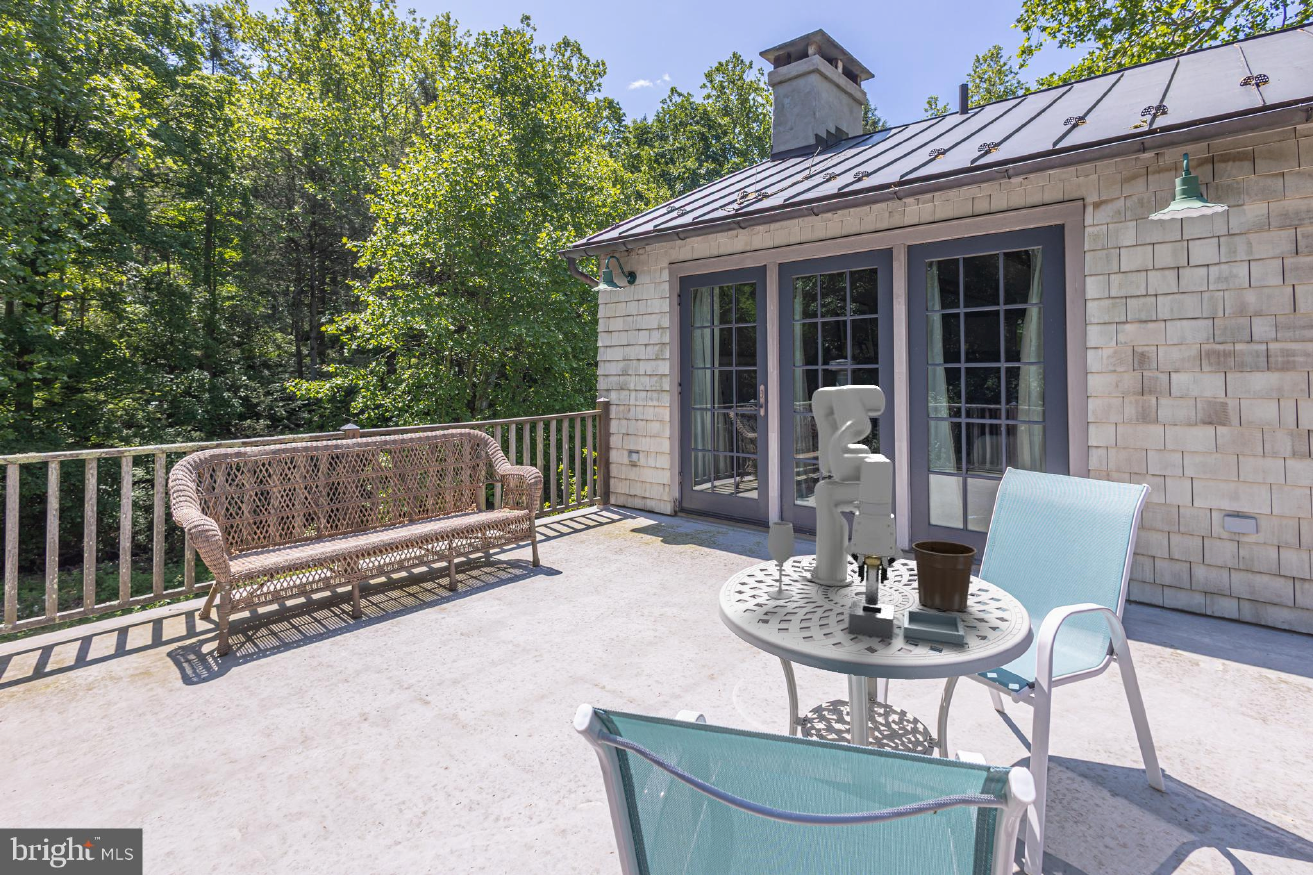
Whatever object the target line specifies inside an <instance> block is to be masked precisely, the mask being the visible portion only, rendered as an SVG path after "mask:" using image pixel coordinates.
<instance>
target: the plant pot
mask: <svg viewBox="0 0 1313 875" xmlns="http://www.w3.org/2000/svg"><path fill="white" fill-rule="evenodd" d="M911 546H912V549H913V551H914V553H913V554H914V560H915V562H916V563H915V566H916V575H917V576H916V578H917V592H918V601H919V603H920V604H921V605H923V606H924V605H925V606H924V607H927V608H930V609H935V610H936V609H941V610H942V611H952V612H955V611H962V610H964V609H966V608H967V605H968V597H969V590H970V583H971V574H972V567H973V566H974V564H975V562H974V561H975V556H976V554H977V552H978V550H977V548H975V547H973V546H970V545H967V544H965V543H959V542H953V541H945V540H922V541H916V542H913V543H912V544H911Z"/></svg>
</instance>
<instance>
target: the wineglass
mask: <svg viewBox="0 0 1313 875" xmlns="http://www.w3.org/2000/svg"><path fill="white" fill-rule="evenodd" d="M793 528H794V527H793V524H792V523H791V522H788V521H781V520H780V521H772V522H771V523H770V526H769V532H768V537H767V551H768V554H769V556H770V557H771V558H772V559H773V561H775V562H776V563H778V566H779V570H778V574H779V575H778V576H779V577H778V589H777V590H776V589H775V590H770V591H768V592H767V596H768V597H769V598H772V599H775V600H776V599H777V600H789V599H792V598H793V597H794V596H793V593H792V592H789V591H786V590H783V587H782V584H783V583H782V582H783V581H782V579H783V578H782V576H783V565H784V564H785V563H786V562H787V561H789V560H790V559H791V557H792V556H793V555H794V552H795V548H796V547H795V546H796V545H795V544H796V543H795V536H794V535H795V534H794V529H793Z"/></svg>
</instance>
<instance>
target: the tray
mask: <svg viewBox="0 0 1313 875" xmlns="http://www.w3.org/2000/svg"><path fill="white" fill-rule="evenodd" d="M903 616H904V617H903V618H904V619H903V640H907V641H915V642H920V643H921V642H922V643H929V644H935V645H936V644H937V645H943V646H949V647H957V648H965V632H964V627H963V622H962V616H961V615H953V614H946V613H939V612H930V611H922V610H915V609H907V608H904V615H903Z"/></svg>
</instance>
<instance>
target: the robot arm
mask: <svg viewBox="0 0 1313 875" xmlns="http://www.w3.org/2000/svg"><path fill="white" fill-rule="evenodd" d="M885 407H886V397H885V394H884V392H883V390H882V389H881V388H880V386H879V387H878V385H877V386H876V385H844V386H827V387H822V388H819V389H817V390H815V391H813V394H812V398H811V410H812V414H813V417H814V421H815V423H816V424H815V425H816V427H817V432H818V433H817V434H818V438H817V439H818V466H819V470H820V471H821V473H823V475H828V476H832V477H833V478H834V479H825V480H820V481H819V482H817V483H816V485H815V487H814V490H813V491H814V492H813V494H814V502H815V510H816V537H815V538H816V542H815V543H816V544H815V547H816V548H815V549H816V550H815V563H814V564H813V563H812V564H806V563H802V564H801V571H804V572H805V573H810V577H809V578H810V580H811V581H812V582H814V583H815V584H819V585H822V586H823V585H824V586H832V587H842V586H843V587H844V586H849V585H851V584H852V583H853V577H852V576H851V575H849V574H848V562H849V561H848V557H851V559H852V560H853V561H855V563H856V564H857V565H858V566H857V577H858V578H860V583H861V582H862V583H863V582H864V581H865V576H866V565H864V555H869V556H879V557H882V561H883V562H882V566H880V567H881V568H880V584H881V585H884V584H885V581H888V569H889V567H890V566H892V565H893V564H894V563H895V562H897V561H899V560H902V559H903V558H904V553H903V551H902V550H901V548H900V547H899V545H898V544H897V539H896V538H897V531H896V520H895V515H894V514H893V513H892V497H893V496H892V495H893V494H892V492H893V473H894V472H893V471H894V470H893V469H894V468H893V467H894V466H893V465H894V464H893V462H892V460H889V459H887V457H886V456H885V455H882V454H879V453H872V452H871V449H869V447H868V446H866V445H864V444H854V443H857V442H858V441H861V440H864V438H866V437H867V436H868V435H869V434H870V433H871V431H872V423H871V420H870V417H869V416H873V417H874V416H875V417H876V416H880V415H881V414H883V412H884V411H885ZM846 511H848V512H849V511H852V512H853V511H855V513H854V517H853V524H852V532H851V533H852V534H851V540H850V541H849V523H848V521H847V520H846V518H845V517H844V516H843V515H842V514H841V512H846Z"/></svg>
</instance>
